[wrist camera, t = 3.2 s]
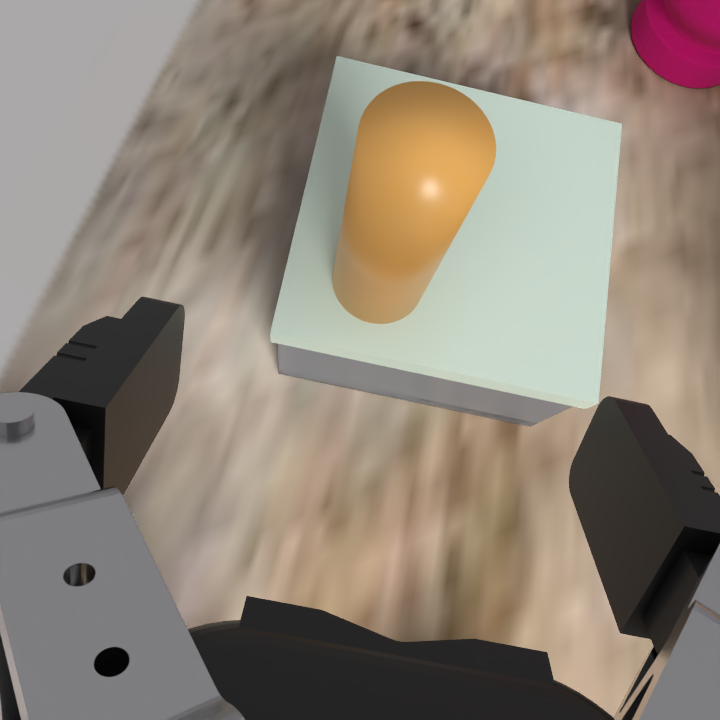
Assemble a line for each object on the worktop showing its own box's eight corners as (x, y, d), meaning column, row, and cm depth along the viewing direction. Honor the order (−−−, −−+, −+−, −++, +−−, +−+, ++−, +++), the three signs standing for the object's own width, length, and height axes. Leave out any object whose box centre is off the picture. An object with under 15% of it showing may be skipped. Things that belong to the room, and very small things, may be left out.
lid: (600, 150, 27) (770, -62, 18) (575, 413, 24) (767, 327, 15) (333, 87, 27) (360, -168, 17) (271, 348, 23) (261, 214, 14)
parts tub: (555, 203, 31) (604, 142, 27) (530, 426, 28) (580, 402, 23) (330, 151, 31) (338, 79, 26) (278, 373, 28) (277, 337, 23)
